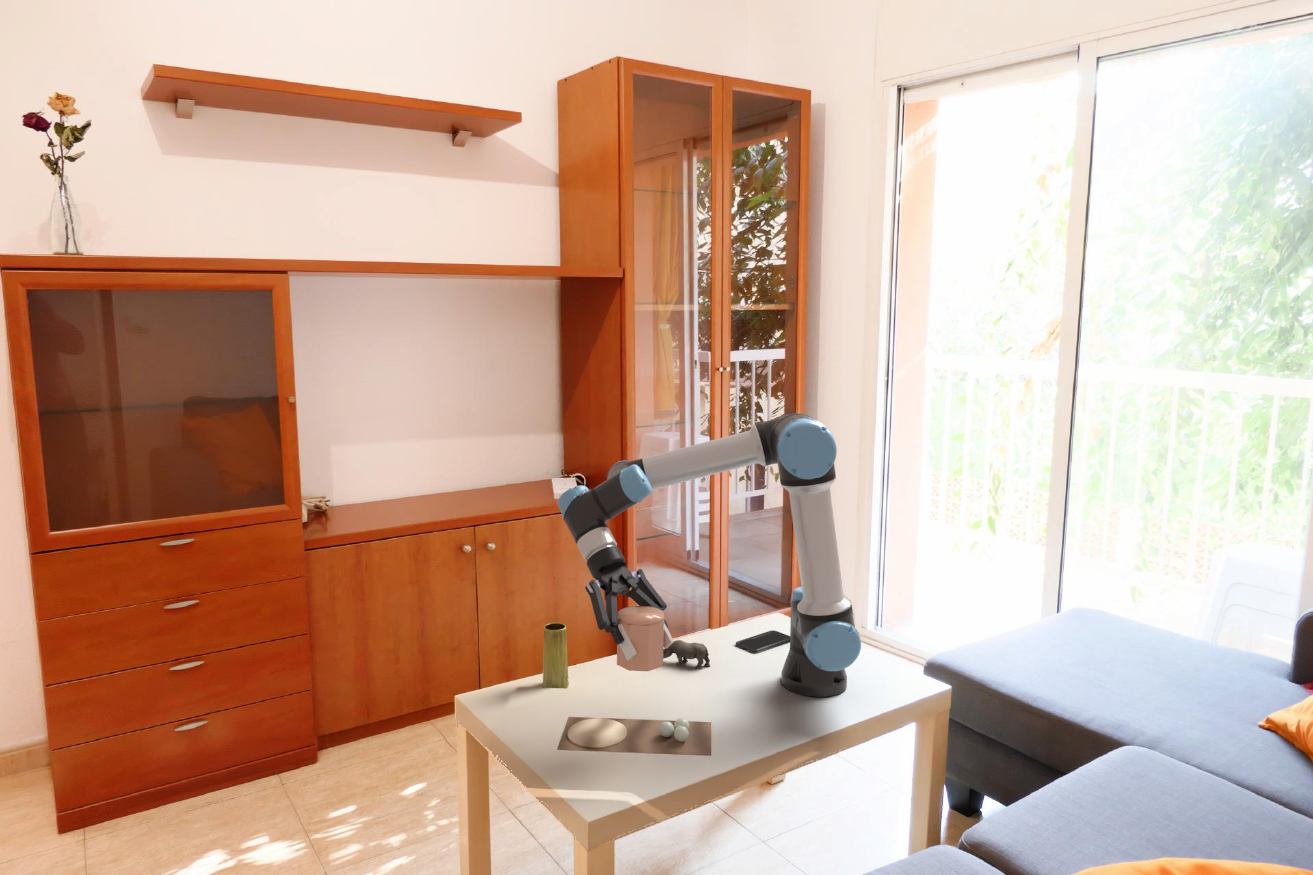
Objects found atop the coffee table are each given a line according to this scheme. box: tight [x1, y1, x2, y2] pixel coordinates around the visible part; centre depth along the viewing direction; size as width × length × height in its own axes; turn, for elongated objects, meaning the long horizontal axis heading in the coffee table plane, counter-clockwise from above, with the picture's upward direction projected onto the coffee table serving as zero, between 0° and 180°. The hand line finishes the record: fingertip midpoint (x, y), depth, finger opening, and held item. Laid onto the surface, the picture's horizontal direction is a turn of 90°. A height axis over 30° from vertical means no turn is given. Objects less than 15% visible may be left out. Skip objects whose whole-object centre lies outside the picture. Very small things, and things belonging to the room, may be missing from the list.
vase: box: [541, 622, 570, 689], centre depth 201 cm, size 6×6×14 cm
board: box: [556, 716, 712, 757], centre depth 176 cm, size 30×14×1 cm, turn 86°
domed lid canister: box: [616, 605, 665, 672], centre depth 173 cm, size 9×9×10 cm
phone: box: [735, 629, 790, 654], centre depth 230 cm, size 8×1×15 cm
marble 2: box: [674, 717, 689, 730], centre depth 177 cm, size 3×3×3 cm
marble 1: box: [659, 721, 674, 737], centre depth 175 cm, size 3×3×3 cm
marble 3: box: [674, 726, 689, 742], centre depth 173 cm, size 3×3×3 cm
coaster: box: [568, 717, 627, 748], centre depth 176 cm, size 12×12×1 cm
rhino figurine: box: [663, 639, 711, 670], centre depth 215 cm, size 4×14×6 cm, turn 70°
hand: (651, 650), depth 171 cm, fingers closed on domed lid canister, 9 cm apart
